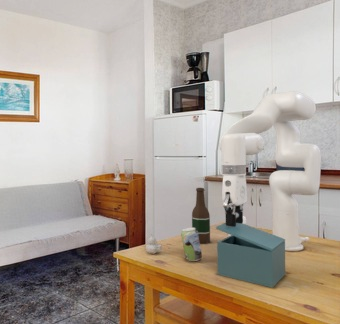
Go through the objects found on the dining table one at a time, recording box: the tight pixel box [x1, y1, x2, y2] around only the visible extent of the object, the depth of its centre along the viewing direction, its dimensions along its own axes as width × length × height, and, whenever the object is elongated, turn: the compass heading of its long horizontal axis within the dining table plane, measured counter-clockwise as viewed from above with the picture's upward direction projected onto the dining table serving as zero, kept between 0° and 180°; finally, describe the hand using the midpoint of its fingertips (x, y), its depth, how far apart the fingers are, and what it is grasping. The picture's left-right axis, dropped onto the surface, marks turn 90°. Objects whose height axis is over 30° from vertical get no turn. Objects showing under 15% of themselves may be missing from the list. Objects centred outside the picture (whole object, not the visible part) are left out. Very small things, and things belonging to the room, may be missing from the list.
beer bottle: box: [191, 187, 211, 245], centre depth 150 cm, size 8×8×24 cm
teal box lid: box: [215, 213, 285, 251], centre depth 110 cm, size 17×14×5 cm
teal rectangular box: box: [216, 235, 286, 289], centre depth 110 cm, size 17×14×11 cm
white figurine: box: [145, 233, 163, 255], centre depth 136 cm, size 5×7×8 cm
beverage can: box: [180, 227, 203, 262], centre depth 126 cm, size 6×7×12 cm
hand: (234, 223), depth 114 cm, fingers closed on teal box lid, 5 cm apart
